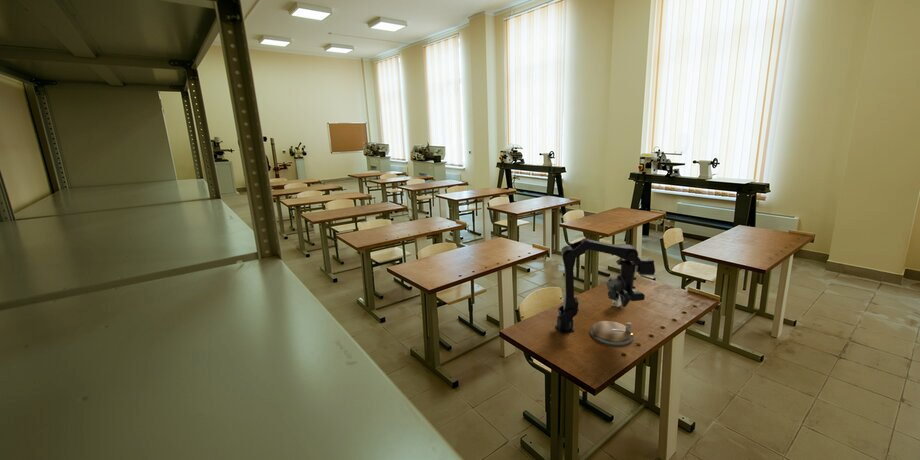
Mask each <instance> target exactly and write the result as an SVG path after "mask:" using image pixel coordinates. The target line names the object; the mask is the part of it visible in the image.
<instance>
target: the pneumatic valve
mask: <svg viewBox="0 0 920 460" xmlns="http://www.w3.org/2000/svg"><path fill="white" fill-rule="evenodd" d="M607 297H608V299H609V300H612V303H611V305H612V306H613V307H616V308H618V307H621V306H622V303H621V299H620V295H619V293H617V292H615V293H612V292H611V291H610V290H608V292H607Z"/></svg>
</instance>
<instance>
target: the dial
mask: <svg viewBox="0 0 920 460" xmlns="http://www.w3.org/2000/svg"><path fill="white" fill-rule="evenodd" d="M592 326H593V333H594V334H595V335H596V336H597V337H599V338H600V339H603V340H606V341H610V342H624V341H627V340H629V339H630V337H631V332H632V326H633V325H632V322H625V324H622V323H620V322H617V321H611V320H601V321H597V322H595V323H594V324H593V325H592Z"/></svg>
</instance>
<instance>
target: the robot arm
mask: <svg viewBox="0 0 920 460" xmlns="http://www.w3.org/2000/svg"><path fill="white" fill-rule="evenodd" d="M588 250H589V251H594V252H598V253H603V254H608V255H613V256H616V257H618V258H619V259H617V260H616V261H615V262H616V264H617V265H619V266H620V271H619V274H617V277H615V278H614V277H613V278H609V279H608V281H607V282H606V287H607V290H608V291H609V290H610V291H611V292H612V293H615V292H617V293H619V295H620V299H621V306H622V307H623V308H626V307H627V306H628V304H629V303H630V302H639V301H640V302H641V301H644V300H645V299H646V295H645V294H644V293H643V292H642V291H640V290H639V289H638V290H635V289H636V285H634V282H635V281H637V277H636V276H635V273H637V274H638V275H639V276H654V275H655V273H656V266H655V260H654V259H652V258H651V259H650V258H649V259H641V258H640V257H639V252H638V250H637V249H636V248H635V247H634V245H632V244H626V243H625V244H624V243H623V244H622V243H621V244H614V243H607V242H603V241H597V240H593V239H589V238H585V237H584V238H582V239H580V240H578V241H576V242H573V243H571V244H570V245H565V246H563V247H562V248H561V250H560V254H561V258H562V263H563V268H564V269H563V270H564V297H563V301H562V305H561V306H559V308H557V311H558V312H557V313H558V315H557V317H556V325H555V326H554V327H555V329H557V330H558V331H559V333H561V334H567V333H572V332H575V329H574V317H576V316H577V315H578V312H580V310H579V304H580V303H579V300H578V297H576V296H575V286H574V284H575V283H574V281H575V280H574V278H575V277H574V267H575V264H576V259H577V258H579V257H580V256H581V255H582V254H583V253H585V252H586V251H588Z"/></svg>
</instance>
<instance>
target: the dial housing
mask: <svg viewBox="0 0 920 460" xmlns="http://www.w3.org/2000/svg"><path fill="white" fill-rule="evenodd" d="M589 334H590V336H591V337H592V338H593V339H594V340H595V341H597V342H599V343H600V344H604V345H609V346H616V347H618V346H619V347H622V346H628V345H629V344H631V343H632V342H634V334H633V332H632V331H631V337H630V339H629V340H627V341H624V342H610V341H606V340H603V339H600V338H599V337H597V336H596V335H595V334H594V333H593V325H591V327H590V329H589Z"/></svg>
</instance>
